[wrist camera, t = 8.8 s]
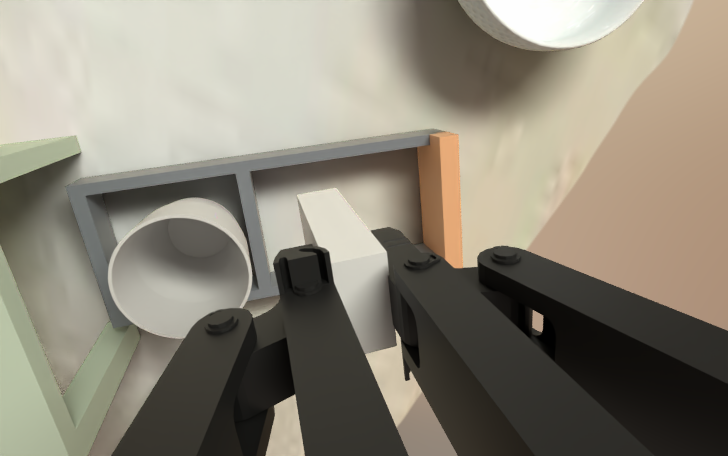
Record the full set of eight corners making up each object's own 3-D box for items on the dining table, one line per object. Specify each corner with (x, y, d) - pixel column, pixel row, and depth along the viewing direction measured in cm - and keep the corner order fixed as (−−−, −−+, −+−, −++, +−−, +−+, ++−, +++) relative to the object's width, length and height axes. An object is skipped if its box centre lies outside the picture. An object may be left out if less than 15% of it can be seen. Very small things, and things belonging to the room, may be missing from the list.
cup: (127, 200, 34) (80, 243, 25) (229, 166, 35) (221, 195, 26) (173, 289, 37) (147, 357, 27) (266, 255, 38) (271, 309, 28)
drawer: (81, 178, 32) (52, 193, 28) (432, 128, 37) (458, 134, 33) (124, 309, 36) (105, 342, 31) (439, 247, 41) (462, 268, 36)
